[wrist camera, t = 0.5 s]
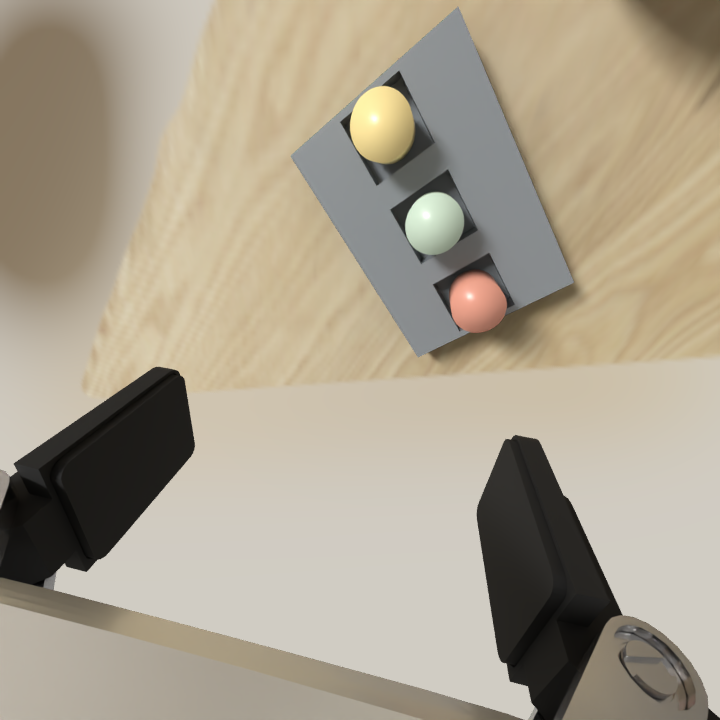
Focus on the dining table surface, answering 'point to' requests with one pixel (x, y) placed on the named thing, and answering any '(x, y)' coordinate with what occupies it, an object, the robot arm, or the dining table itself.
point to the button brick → (476, 301)
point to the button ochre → (382, 125)
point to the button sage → (434, 223)
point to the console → (438, 173)
